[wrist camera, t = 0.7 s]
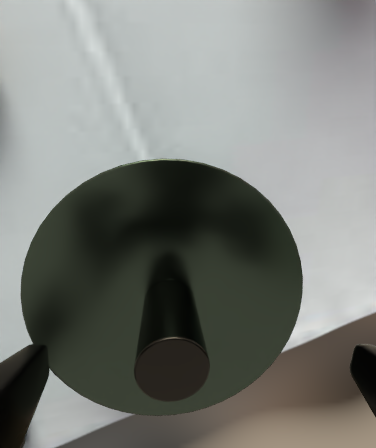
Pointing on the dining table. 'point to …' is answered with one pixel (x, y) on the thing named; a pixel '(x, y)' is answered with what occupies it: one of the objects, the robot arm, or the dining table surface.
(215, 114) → the dining table surface
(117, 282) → the bin lid
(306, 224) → the dining table surface
